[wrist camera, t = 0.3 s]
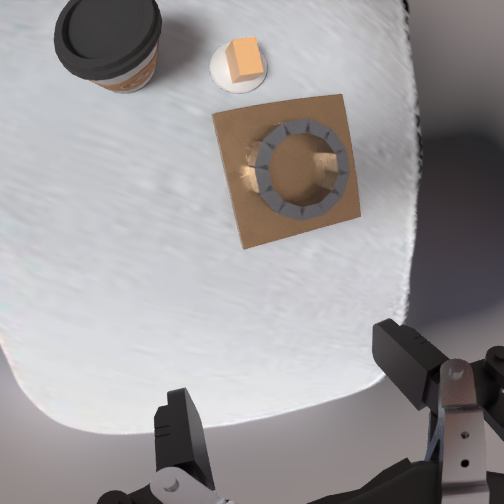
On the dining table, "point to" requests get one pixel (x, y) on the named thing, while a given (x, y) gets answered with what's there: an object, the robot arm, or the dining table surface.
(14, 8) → the dining table surface
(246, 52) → the cap
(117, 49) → the coffee cup
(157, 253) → the dining table surface
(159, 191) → the dining table surface
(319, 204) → the board with grey ring
